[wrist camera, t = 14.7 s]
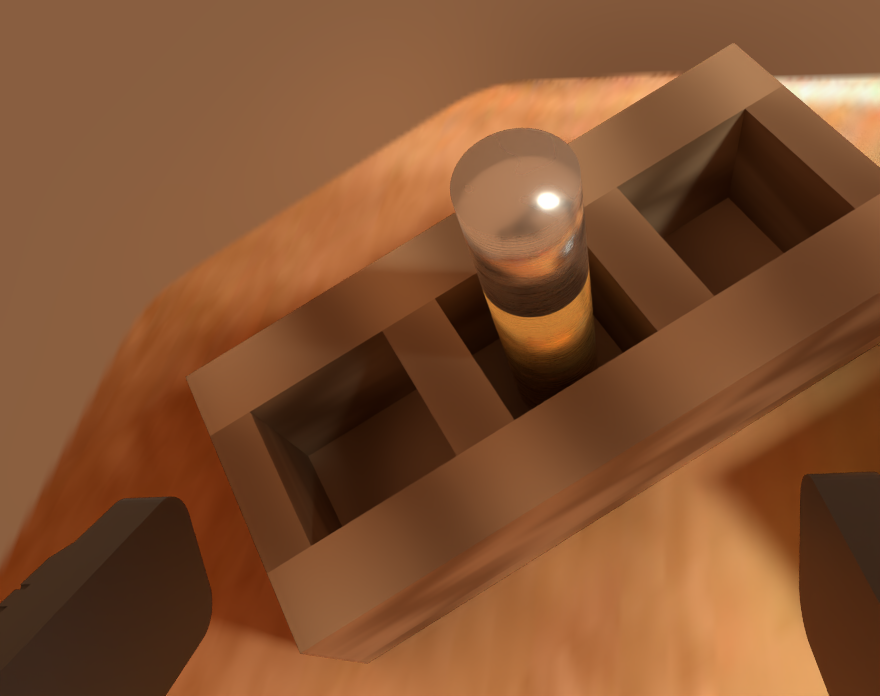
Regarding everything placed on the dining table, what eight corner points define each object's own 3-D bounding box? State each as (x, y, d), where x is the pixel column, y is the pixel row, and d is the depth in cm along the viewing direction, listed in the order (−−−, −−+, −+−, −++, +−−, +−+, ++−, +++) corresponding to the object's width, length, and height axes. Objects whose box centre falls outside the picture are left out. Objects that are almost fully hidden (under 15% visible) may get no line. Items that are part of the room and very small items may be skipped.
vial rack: (717, 153, 32) (733, 42, 26) (898, 330, 27) (964, 239, 22) (261, 432, 31) (185, 377, 26) (367, 663, 26) (300, 653, 21)
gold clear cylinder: (568, 327, 29) (535, 107, 18) (615, 388, 27) (607, 189, 17) (501, 368, 29) (427, 171, 18) (544, 432, 27) (491, 259, 17)
